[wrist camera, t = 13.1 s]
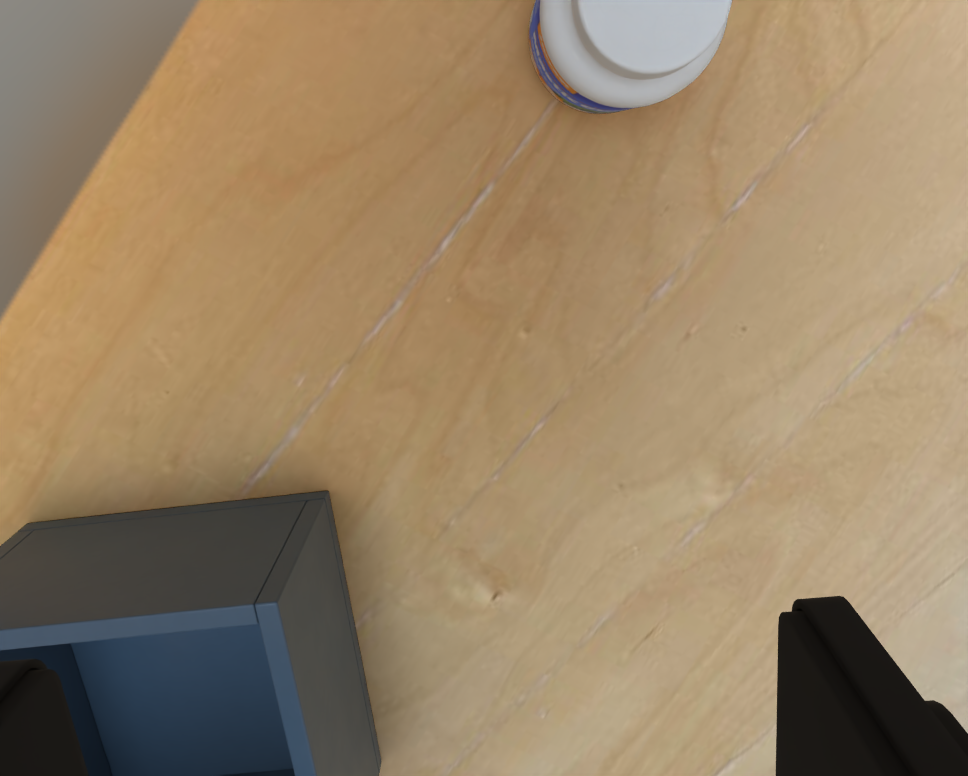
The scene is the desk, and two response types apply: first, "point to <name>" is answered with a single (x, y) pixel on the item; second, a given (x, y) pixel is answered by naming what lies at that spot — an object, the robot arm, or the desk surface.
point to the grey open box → (196, 638)
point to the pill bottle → (623, 49)
